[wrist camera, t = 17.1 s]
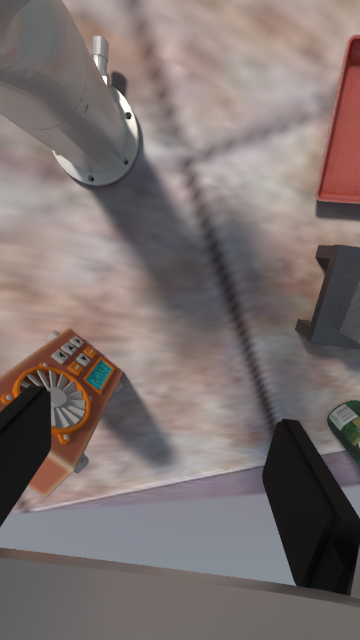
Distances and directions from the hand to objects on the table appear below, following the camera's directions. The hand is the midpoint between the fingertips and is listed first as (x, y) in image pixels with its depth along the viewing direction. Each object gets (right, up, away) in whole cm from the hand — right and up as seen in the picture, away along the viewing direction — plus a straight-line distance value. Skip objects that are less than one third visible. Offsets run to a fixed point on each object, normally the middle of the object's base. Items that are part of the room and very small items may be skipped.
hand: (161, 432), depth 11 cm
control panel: (-16, -3, +36) cm, 40 cm away
